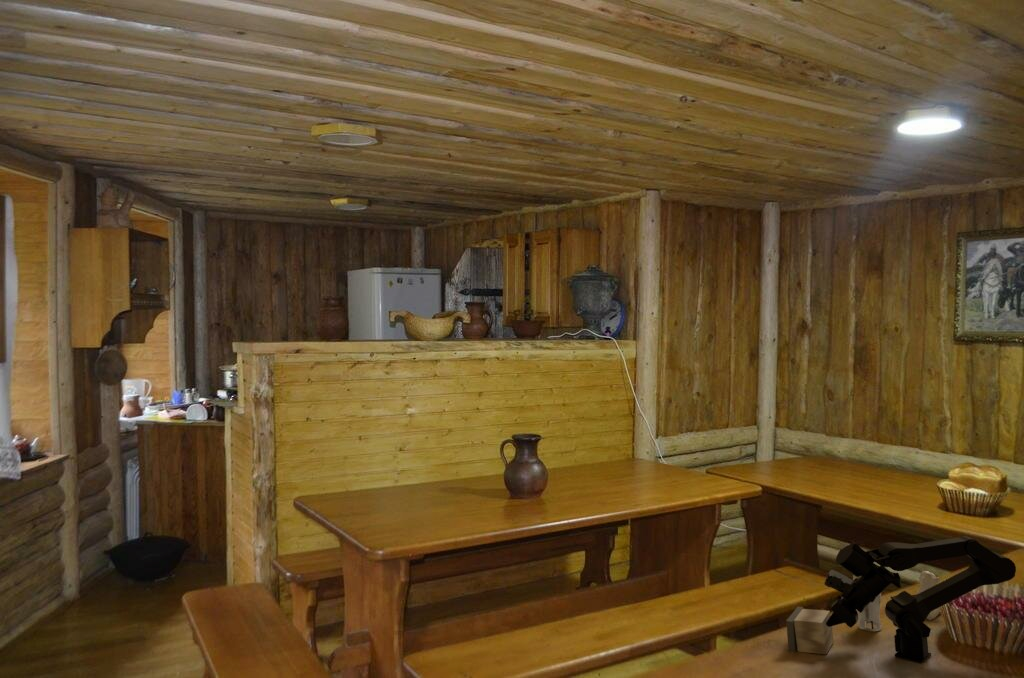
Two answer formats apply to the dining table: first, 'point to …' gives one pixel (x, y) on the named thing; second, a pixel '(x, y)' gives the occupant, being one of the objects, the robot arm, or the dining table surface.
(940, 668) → the dining table surface
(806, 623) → the maple block
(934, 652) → the dining table surface
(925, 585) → the sitting furry creature
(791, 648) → the backstop board
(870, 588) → the robot arm
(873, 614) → the beer glass
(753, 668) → the dining table surface
